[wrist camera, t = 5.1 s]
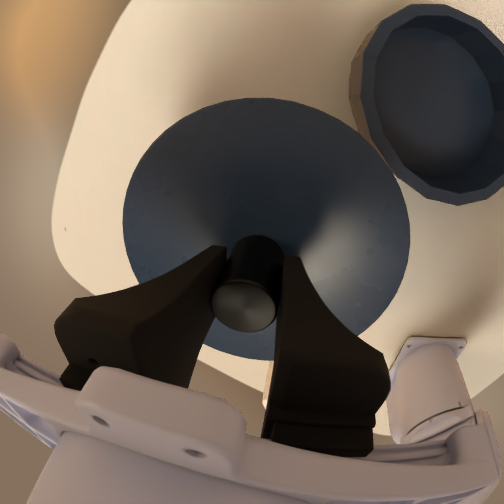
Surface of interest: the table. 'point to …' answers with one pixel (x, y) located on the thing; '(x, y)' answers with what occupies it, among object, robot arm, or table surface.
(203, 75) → the table surface
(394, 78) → the pot
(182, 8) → the table surface
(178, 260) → the lid
